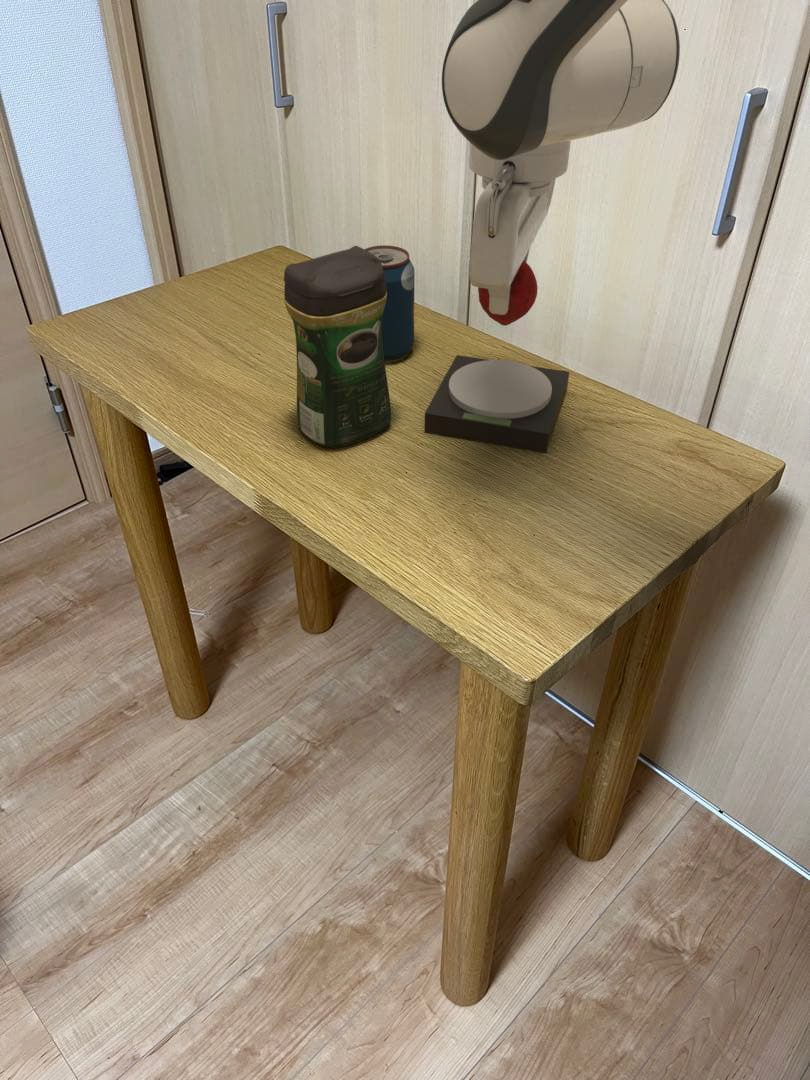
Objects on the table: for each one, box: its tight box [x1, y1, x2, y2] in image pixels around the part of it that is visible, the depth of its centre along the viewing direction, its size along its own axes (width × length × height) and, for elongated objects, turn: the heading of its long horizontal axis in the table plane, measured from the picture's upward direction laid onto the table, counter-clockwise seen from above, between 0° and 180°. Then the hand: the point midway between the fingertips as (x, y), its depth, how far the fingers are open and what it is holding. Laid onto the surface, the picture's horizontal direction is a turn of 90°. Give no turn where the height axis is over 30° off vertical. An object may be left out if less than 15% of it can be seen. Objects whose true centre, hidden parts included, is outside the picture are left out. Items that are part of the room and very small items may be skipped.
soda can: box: [364, 244, 415, 364], centre depth 99 cm, size 7×7×12 cm
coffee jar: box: [283, 245, 392, 449], centre depth 84 cm, size 10×8×19 cm
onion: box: [477, 260, 538, 327], centre depth 83 cm, size 6×6×8 cm
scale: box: [424, 354, 570, 454], centre depth 92 cm, size 13×13×3 cm
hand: (507, 295), depth 84 cm, fingers closed on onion, 6 cm apart
